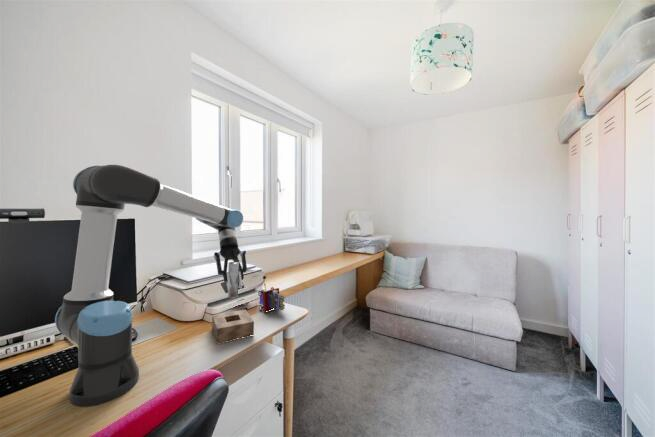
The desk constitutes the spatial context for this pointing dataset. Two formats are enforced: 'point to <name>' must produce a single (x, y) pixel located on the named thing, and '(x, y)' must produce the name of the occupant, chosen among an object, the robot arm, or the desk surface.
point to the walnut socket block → (232, 325)
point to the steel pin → (233, 279)
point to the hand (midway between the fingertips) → (235, 287)
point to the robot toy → (270, 299)
